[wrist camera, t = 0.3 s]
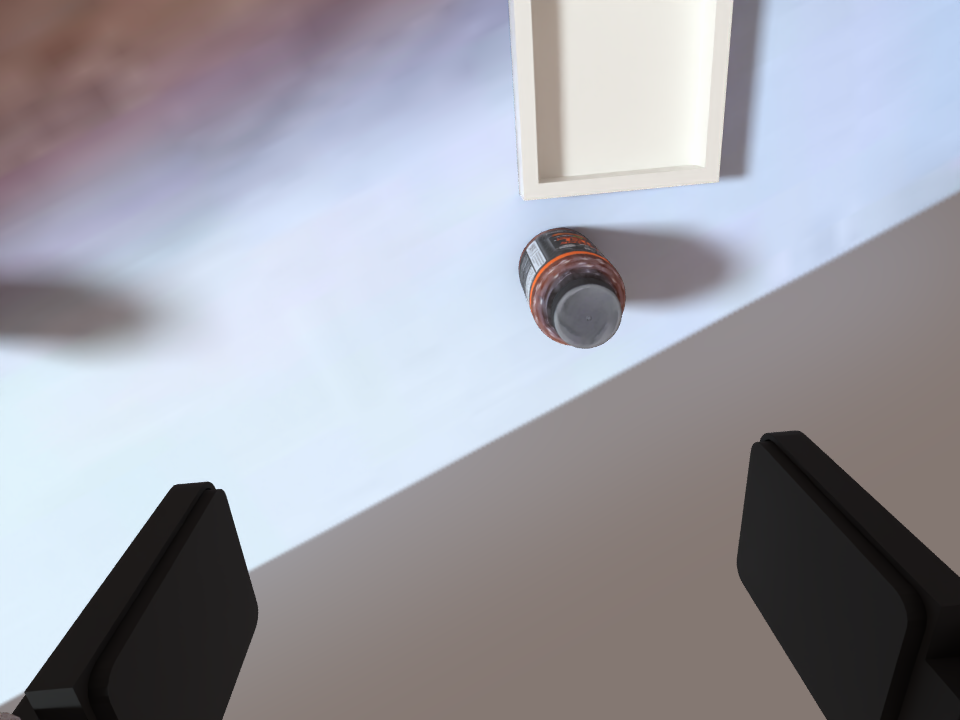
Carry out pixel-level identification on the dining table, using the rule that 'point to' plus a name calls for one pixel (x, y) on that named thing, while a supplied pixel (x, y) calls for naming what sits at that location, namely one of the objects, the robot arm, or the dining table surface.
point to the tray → (618, 93)
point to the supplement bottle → (571, 288)
